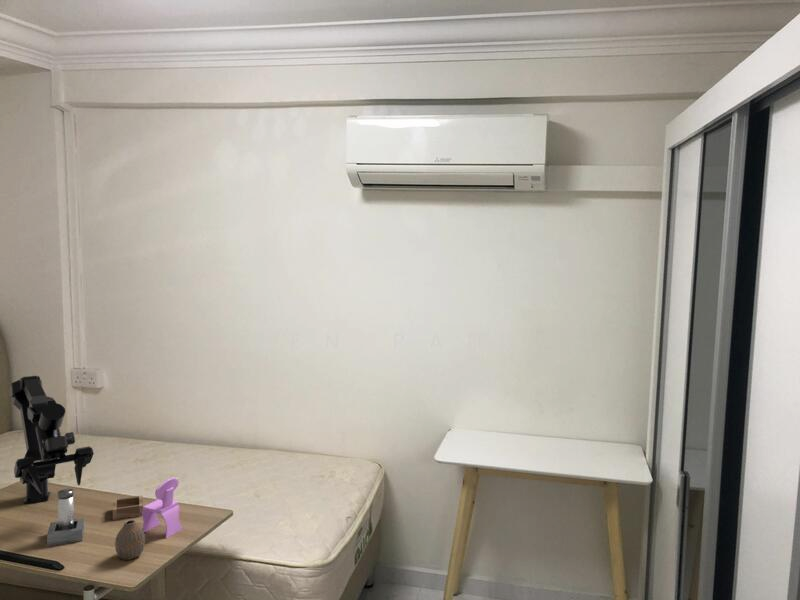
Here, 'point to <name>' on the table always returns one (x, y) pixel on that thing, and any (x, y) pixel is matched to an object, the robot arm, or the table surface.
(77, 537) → the socket block
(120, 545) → the vase
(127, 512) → the block
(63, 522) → the silver and grey cylinder
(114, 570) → the table surface
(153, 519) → the toy chair
